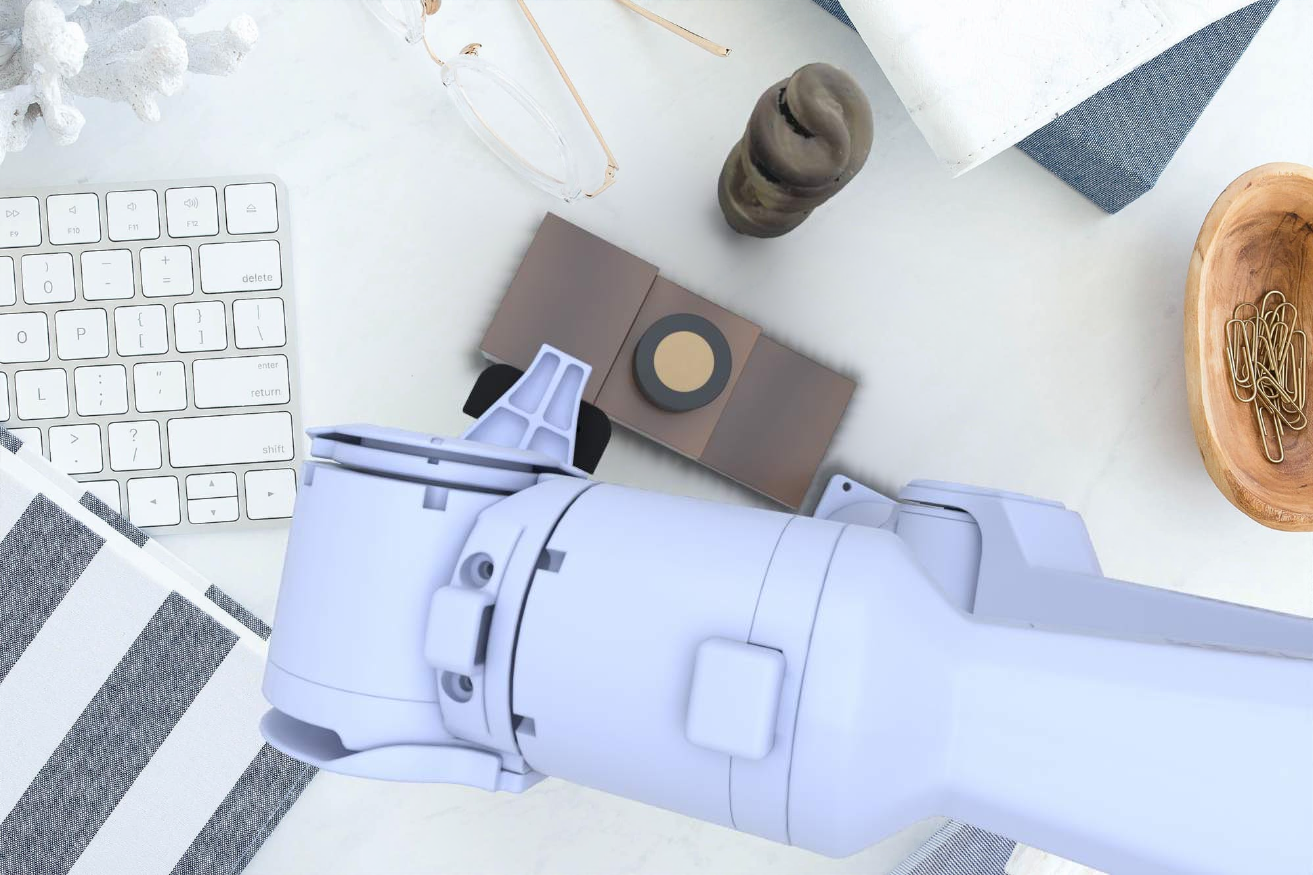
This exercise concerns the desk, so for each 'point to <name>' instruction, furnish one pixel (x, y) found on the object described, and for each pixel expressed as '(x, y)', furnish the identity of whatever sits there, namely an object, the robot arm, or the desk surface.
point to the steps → (605, 336)
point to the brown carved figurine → (796, 151)
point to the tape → (681, 363)
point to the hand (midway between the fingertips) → (495, 518)
